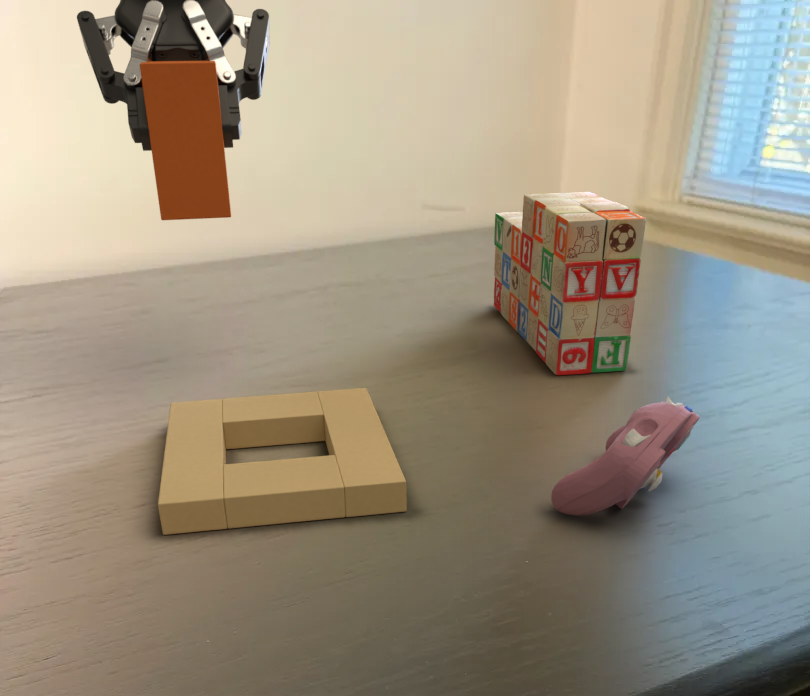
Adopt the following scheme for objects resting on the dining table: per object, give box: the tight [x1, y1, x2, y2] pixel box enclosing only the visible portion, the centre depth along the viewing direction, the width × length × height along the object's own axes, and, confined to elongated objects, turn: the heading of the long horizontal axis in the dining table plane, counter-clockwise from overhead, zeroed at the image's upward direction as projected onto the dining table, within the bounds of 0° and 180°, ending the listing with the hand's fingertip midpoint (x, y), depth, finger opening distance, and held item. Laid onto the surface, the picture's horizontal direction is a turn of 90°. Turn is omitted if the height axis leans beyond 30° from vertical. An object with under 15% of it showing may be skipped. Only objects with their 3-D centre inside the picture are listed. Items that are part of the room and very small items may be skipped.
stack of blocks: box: [493, 191, 647, 376], centre depth 79 cm, size 21×6×12 cm, turn 9°
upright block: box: [140, 61, 232, 221], centre depth 64 cm, size 5×5×10 cm
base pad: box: [157, 387, 408, 536], centre depth 57 cm, size 14×16×2 cm
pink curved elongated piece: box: [550, 395, 700, 516], centre depth 52 cm, size 10×5×7 cm, turn 147°
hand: (186, 140), depth 62 cm, fingers closed on upright block, 5 cm apart
